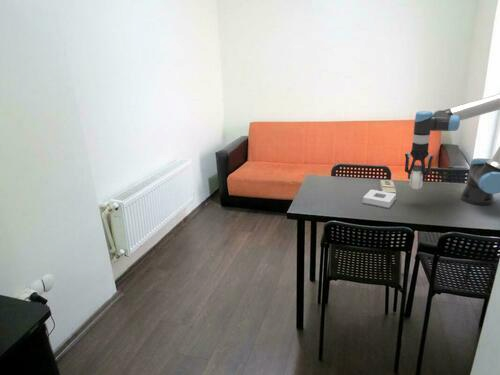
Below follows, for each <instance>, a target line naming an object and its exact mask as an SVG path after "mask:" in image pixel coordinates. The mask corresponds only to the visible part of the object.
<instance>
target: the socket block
mask: <svg viewBox="0 0 500 375" xmlns="http://www.w3.org/2000/svg"><path fill="white" fill-rule="evenodd" d="M396 198H397V193H396V194H395V193H389V192H383V191H381V190H377V189H370V190H369V191H368V192H367V193H366V194H365V195H363V197H362V204H363V205H364V204H365V205H369V206H372V207H373V206H374V207H380V208H385V209H390V208H391V207H392V206H393V204H394V203H395V201H396V200H397V199H396Z"/></svg>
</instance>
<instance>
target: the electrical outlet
mask: <svg viewBox="0 0 500 375" xmlns="http://www.w3.org/2000/svg"><path fill="white" fill-rule="evenodd" d="M379 188H380V191H383V192H389V193H395V194H396V195H397V190H396V186H395V184H394V181H393V180H390V179H389V180H388V179H381V180H380V182H379Z"/></svg>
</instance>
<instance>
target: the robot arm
mask: <svg viewBox="0 0 500 375" xmlns="http://www.w3.org/2000/svg"><path fill="white" fill-rule="evenodd" d="M499 110H500V93H497V94H493V95H491V96H488V97H483V98H480V99H477V100H475V101H474V100H473V101H470V102H467V103H464V104H461V105H457V106H454V107H451V108H447V109H444V110H443V109H442V110H440V109H439V110H436V111H434V112H432V111H431V110H419V111H417V112H416V113H415V118H414V125H413V135H412V143H411V144H412V146H411V150H410V152H406V153H405V154H404V156H405V163H404V164H405V165H404V172H405V173H407V174H408V175H407V180H409V187H411V182H412V173H413V166H414V165H416V162H417V161H419V162H420V163H421V164H420V165H422V175H421V181H420V188H422V187H423V184H424V183H423V182H425V181H426V178H427V176H428V175H430V174H431V170H432V163H433V159H434V157H435V156H434V154H430V153H429V142H430V137H431V136H430V135H431V132H456V131H458V129H459V128H460V125H461V124H460V122H461V121H463V120H468V119H471V118H475V117H479V116H482V115H485V114H488V113H489V114H490V113H492V112H496V111H499ZM410 157H412V158H413V159H412V162H411V164H410ZM426 158H428V162H427V169H426ZM409 164H410V166H409ZM469 165H470V166H469V171H468V176H467V181H466V186H465V187H464V188H463V190H462V191H461V194H460V199H461V200H462V201H463V202H465V203H468V204H471V205H476V206H490V205H492V204H493V203H494V199H495V197H494V195H495V194H499V193H500V146H499V147H498V148H497V150H495V153H494V155H493V156H492V158H479V157H478V158H473V159H472V160H471V161H470V164H469Z"/></svg>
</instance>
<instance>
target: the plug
mask: <svg viewBox="0 0 500 375" xmlns="http://www.w3.org/2000/svg"><path fill="white" fill-rule="evenodd" d="M411 173H412V182H411V186H410V188H411V189H413V190H420V189H421V187H420V181H421V175H422V174H423V172H422V165H421V164H414V166H413V170H412V172H411Z"/></svg>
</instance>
